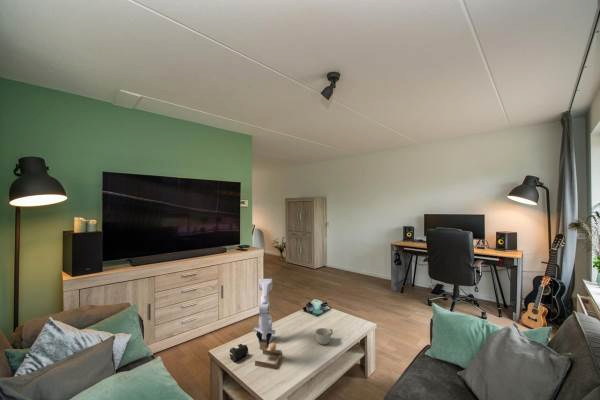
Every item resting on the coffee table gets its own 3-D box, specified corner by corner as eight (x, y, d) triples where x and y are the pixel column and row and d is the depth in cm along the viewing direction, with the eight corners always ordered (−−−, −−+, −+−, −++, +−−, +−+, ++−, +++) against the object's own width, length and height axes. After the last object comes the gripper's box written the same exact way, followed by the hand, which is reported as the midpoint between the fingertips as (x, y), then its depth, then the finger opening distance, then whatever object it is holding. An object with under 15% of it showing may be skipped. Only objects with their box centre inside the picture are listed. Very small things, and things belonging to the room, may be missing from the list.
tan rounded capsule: (271, 349, 175) (271, 342, 175) (276, 350, 174) (276, 343, 174) (269, 352, 171) (269, 345, 171) (274, 353, 170) (274, 346, 170)
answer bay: (263, 353, 170) (263, 349, 170) (282, 356, 167) (282, 352, 167) (254, 365, 158) (254, 361, 158) (275, 369, 154) (275, 365, 154)
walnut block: (262, 345, 168) (262, 338, 168) (268, 346, 167) (268, 339, 167) (259, 349, 164) (259, 342, 164) (266, 350, 163) (266, 343, 163)
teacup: (319, 347, 176) (319, 336, 176) (312, 339, 187) (313, 328, 186) (337, 343, 182) (337, 332, 182) (329, 336, 192) (329, 325, 192)
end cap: (235, 363, 159) (235, 353, 159) (229, 359, 164) (229, 348, 164) (248, 356, 167) (248, 346, 167) (241, 352, 172) (241, 342, 172)
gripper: (251, 324, 163) (251, 345, 163) (272, 327, 160) (272, 348, 160) (256, 319, 170) (256, 339, 170) (276, 322, 166) (276, 342, 166)
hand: (264, 343), depth 165 cm, fingers closed on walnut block, 4 cm apart
